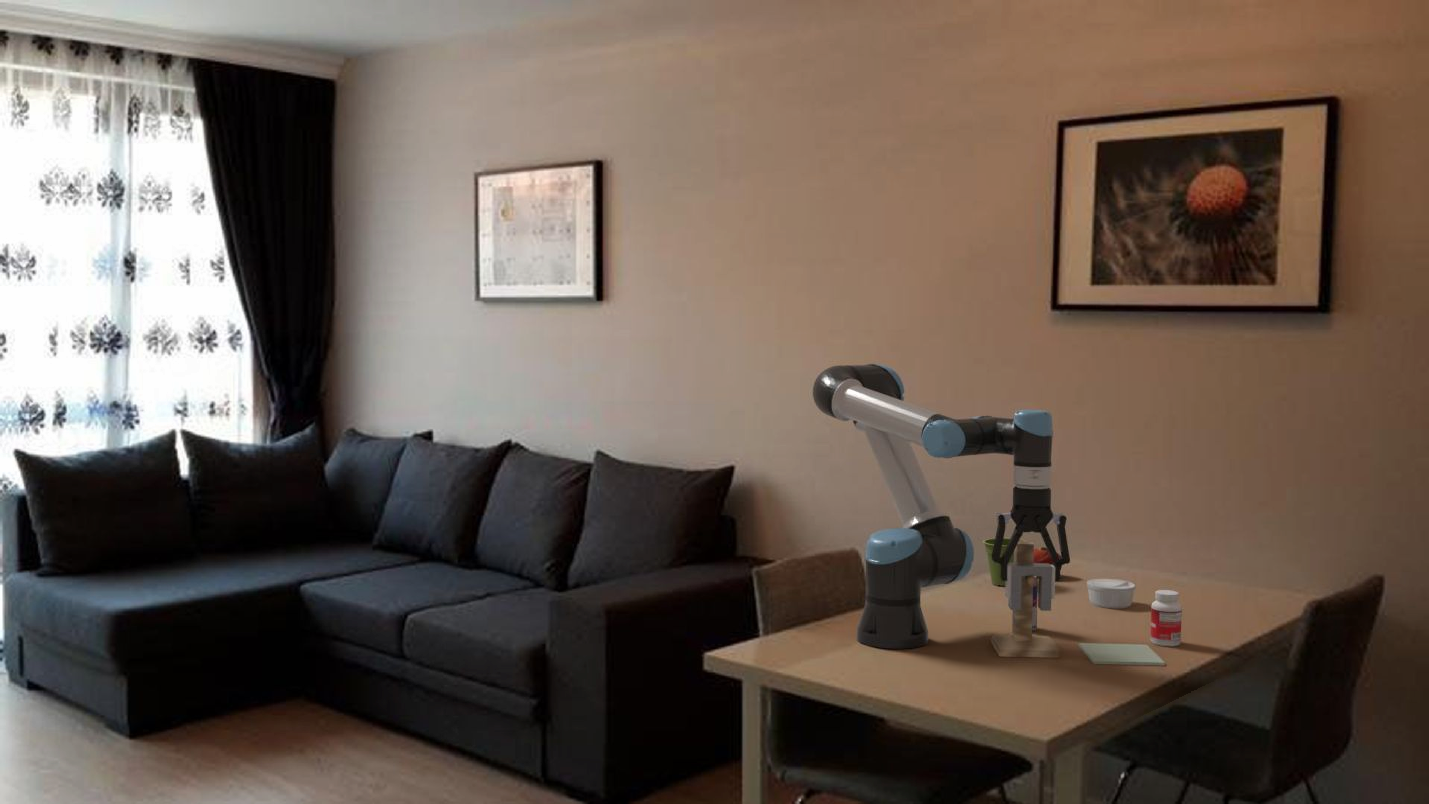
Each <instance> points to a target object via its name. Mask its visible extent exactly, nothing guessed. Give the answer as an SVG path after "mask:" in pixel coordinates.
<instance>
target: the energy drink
mask: <svg viewBox="0 0 1429 804" xmlns="http://www.w3.org/2000/svg"><path fill="white" fill-rule="evenodd" d="M1034 577H1035V578H1036V579H1037V581H1039V578H1038V576H1034ZM1011 611H1012V612H1011V618H1012V619H1011V620H1012V621H1011V623H1012V625H1011V627H1012V626H1013V610H1011ZM1037 628H1038V584H1037V585H1036V586H1035V587H1033V611H1032V632H1034V631H1036V630H1037Z"/></svg>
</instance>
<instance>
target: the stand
mask: <svg viewBox="0 0 1429 804" xmlns="http://www.w3.org/2000/svg"><path fill="white" fill-rule="evenodd" d="M1034 549H1035V544H1034V543H1033V541H1031V540H1029V541H1028V540H1026V541H1018V544H1017V546H1016V548H1015V550H1014V563H1034ZM1037 579H1038V578H1037ZM1037 579H1036V578H1035V577H1034V576H1022V585H1021V610H1013V626H1012V625H1011V628H1012V632H1011V634H991V635H990V642H991V644H992V646H993V648H994V649H995V651H996V653H997V655H998V656H999V657H1003V658H1004V657H1008V658H1012V657H1013V658H1015V657H1016V658H1050V659H1055V658H1056V659H1058V658H1060V650H1059V648H1058V647H1057V646H1056V645H1055V643H1054V642H1053V640H1052V639H1051V638H1050V636H1049V635H1033V631H1032V611H1033V587H1035V586H1036V585H1037V584H1038V581H1039V580H1038V581H1037Z"/></svg>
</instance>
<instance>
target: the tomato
mask: <svg viewBox="0 0 1429 804" xmlns="http://www.w3.org/2000/svg"><path fill="white" fill-rule="evenodd" d="M1056 553H1057V555H1058V557H1059V558H1061V553H1060V554H1059V553H1058V552H1057V551H1056ZM1034 563H1049V564H1050V565H1053V562H1052V559H1051V557H1050V555H1049V552H1048V550H1047V547H1046V546H1045V547H1044V546H1038V547H1037V548H1034ZM1062 568H1063V565H1062V566H1061V568H1060V571H1061V570H1062Z"/></svg>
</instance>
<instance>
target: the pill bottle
mask: <svg viewBox="0 0 1429 804" xmlns="http://www.w3.org/2000/svg"><path fill="white" fill-rule="evenodd" d="M1154 597H1155V600H1154V601H1153V602H1152V604H1151V607H1150V609H1151V610H1150V612H1151V613H1150V618H1151V619H1150V642H1151V643H1152V644H1154V645H1157V646H1161V647H1170V648H1171V647H1177V646H1180V644H1181V643H1182V614H1183V609H1182V608H1183V607H1182V605H1181V604H1180V603H1179V602H1178V601H1179V597H1180V595H1179V592H1178V591H1175V590H1171V589H1159V590H1156V591H1155V596H1154Z"/></svg>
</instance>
